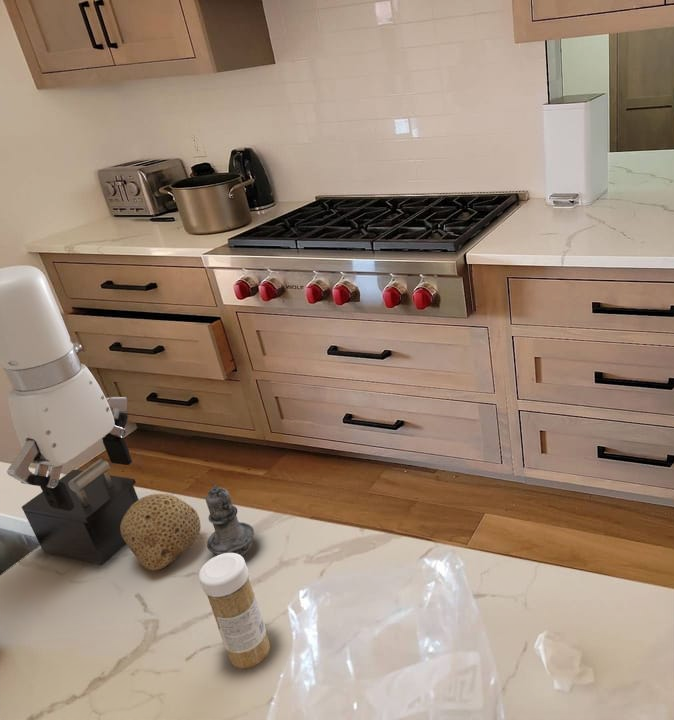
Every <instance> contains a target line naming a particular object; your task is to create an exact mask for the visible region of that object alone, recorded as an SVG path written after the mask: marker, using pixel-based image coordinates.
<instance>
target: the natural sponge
mask: <svg viewBox="0 0 674 720" xmlns="http://www.w3.org/2000/svg"><path fill="white" fill-rule="evenodd" d="M200 530H201V520H200V516H199V514H198V512H197V510H196V509H195V508H194V507H192V506H191V505H190V504H188V503H187V502H185V501H184V500H182V499H180V498H179V497H176V496H174V495H172V494H168V493H155V494H149V495H146V496H143V497H142V498H139V500H138V501H136V502H135V503H134V504H133V505H132V506H131V507H130V508H129V509H128V511H127V512H126V514H125V515H124V517H123V519H122V522H121V525H120V531H121V535H122V537H123V539H124V541H125V542H126V544H125V545H127V547H128V549H130V551H131V552H132V553H133V555H134V556H135V558H136V559H137V561H138V562H139V563H140V564H141V566H143V567H144V568H146V569H148V570H150V571H157V570H161V569H163V568H165V567H168V566H169V565H170V564H172V563H173V562H175V560H177V559H178V558H179V556H180V555H181V554H182V553H184V552H185V551H187V550H188V549H190V548H191V547H192V546H193V545H194V544H195V543H196V541H197V539H198V537H199V535H200Z"/></svg>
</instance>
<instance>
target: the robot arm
mask: <svg viewBox="0 0 674 720" xmlns="http://www.w3.org/2000/svg"><path fill="white" fill-rule="evenodd" d="M82 351H83V346H82V345H81V343H79V342H77V341H75V342H73V340H72V338H71V336H70V334H69V332H68V329H67V326H66V324H65V321H64V319H63V315H62V313H61V312H60V309H59V305H58V304H57V300H56V299H55V296H54V294H53V291H52V289H51V286H50V284H49V282H48V279H47V277H46V275H45V274H44V273H43V271H42V270H40V269H39V268H38V267H36V266H33V265H22V264H21V265H20V264H19V265H11V266H5V267H2V268H0V364H1V366H2V369H3V371H4V373H5V375H6V379H8V382H9V384H10V386H11V388H12V390H11V391H9V392H8V393H7V403H8V408H9V414H10V417H11V421H12V424H13V427H14V431H15V433H16V436H17V439H18V442H19V445H20V447H21V449H20V451H19V452H18V453H17V455H16V457H15V458H14V459H13V461H12V462H11V464H10V465H9V467H8V469H7V470H6V473H7V475H8V476H10V477H12V478H13V479H15V480H17V481H19V482H20V483H21V484H24V485H31V486H36V487H40V489H41V492H43V493H44V495H45V497H46V500H47V502H48V504H49V505H50V506H51V507H53V508H56V509H61V510H67V511H71V510H72V509H73V508H74V503H73V501H72V499H71V497H70V494H69V492H68V490H67V488H66V486H65V484H64V483H63V482H58V481H59V479H60V477H61V472H62V469H63V466H64V465H65V464H67V463H69V462H71V461H72V460H73V459H74V458H76V457H78V456H79V455H81V454H83V452H85V451H86V450H88V449H89V448H90V447H92V446H93V445H94V444H96V443H98V442H99V441H100V440H101V439H102V444H103V446H104V448H105V451H106V453H107V456H108V459H109V461H110V463H112V464H117V465H122V466H130V465H131V464H132V463H133V460H132V457H131V454H130V450H129V448H128V445H127V442H126V440H125V437H126V435H127V430H126V425H127V421H128V418H129V415H128V414H127V412H128V398H127V397H125V396H106V395H105V394H104V392H103V390H102V388H101V386H100V384H99V383H98V381H97V380H96V379H95V376H94V375H93V373H92V372H91V371H90V370H89V369H90V368H88V367H87V366H86V365H85V364H84V363H81V359H80V358H79V353H81V352H82ZM111 408H112V409H111ZM31 464H35V465H36V466H35V470H34V473H33V472H32V471H30V466H31Z"/></svg>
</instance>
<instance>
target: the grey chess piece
mask: <svg viewBox="0 0 674 720" xmlns="http://www.w3.org/2000/svg"><path fill="white" fill-rule="evenodd" d="M205 502H206V505H207V508H208V511H209V514H208V522H209V523H211V524H212V526H213V529H214V532H213V533H211V535H210V536H209V537H208V539H207V541H206V547H207V550H208V551H209V552H211V553H212V554H213V555H214V557H215V556H218V555H220V554H224V553H236V554H239V555H241V556H242V557H244V556H245V555H246V554H247V553H248V552H249V551H250V549H251V548H252V545H253V540H254V534H255V529H254V527H253V526H252V525H250V524H249V523H246V522H239V519H238V516H237V514H238V508H237V507H236V505H233V501H232V498H231V495H230V492H229V491H228V490H227V489H226V488H224V487H218V486H217V485H216V484H212V486H211V490H209V491H208V492H207V494H206V496H205Z"/></svg>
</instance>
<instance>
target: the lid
mask: <svg viewBox="0 0 674 720" xmlns="http://www.w3.org/2000/svg"><path fill="white" fill-rule="evenodd" d="M110 469H111V466H110V464H109V462H108V461H107V460H105V459H104V458H100V459H98V460H97V461H95V462H94V463H93V464H91V465H90V466H88V467H87V468H85V469H84V470H79V469H72V470H71V471H69V472H68V473H66V474H65V475H63V476H62V477H61V478H59V481H58V482H63V483H64V484H65V486H66V488H67V490H68V492H69V494H70V497H71V499H72V501H73V503H74V508H73V509H72V510H71V511H67V510H61V509H56V508H53V507H51V506H50V505H49V504H48V502H47V500H46V497H45V495H44V493H43V491H41V492H40V493H39V494H37V495H36V496H34V497H33V498H31V499H30V500H29V501H27V502H26V503H25V504H23V505H22V506H21V510H22V511H23V512H24V511H27V512H32V513H37V514H43V515H48V516H54V517H59V518H64V519H70V520H75V521H81V522H86V523H88V522H89V521H90V520H91V519H93V518H94V517H95V516H96V515H97V514H99V513H100V512H101V511H102V510H104V509H105V508H106V507H107V506H108V505H110V504H111V503H112V502H113V501H115V500H116V499H117V498H118V497H119V496H121V495H122V494H123V493H124V492H126V491H127V490H128V489H129V488H130V487H132V486H135V485H136V484H137V482H136V480H135V478H130V477H125V476H117V475H112V474H111V475H110V473H109V470H110Z"/></svg>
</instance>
